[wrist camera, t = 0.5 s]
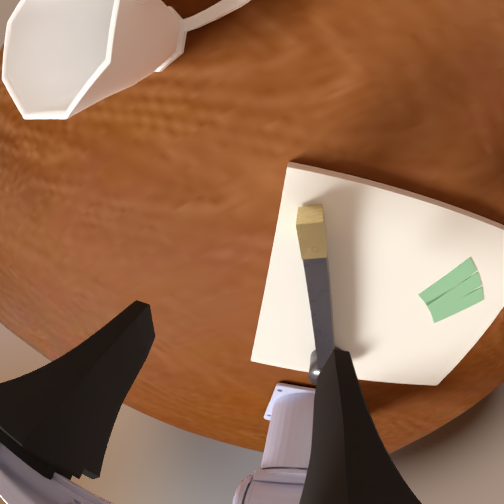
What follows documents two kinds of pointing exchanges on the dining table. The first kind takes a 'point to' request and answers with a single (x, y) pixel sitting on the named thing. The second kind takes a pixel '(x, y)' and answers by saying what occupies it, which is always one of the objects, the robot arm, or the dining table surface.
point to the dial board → (382, 279)
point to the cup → (90, 49)
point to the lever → (317, 283)
